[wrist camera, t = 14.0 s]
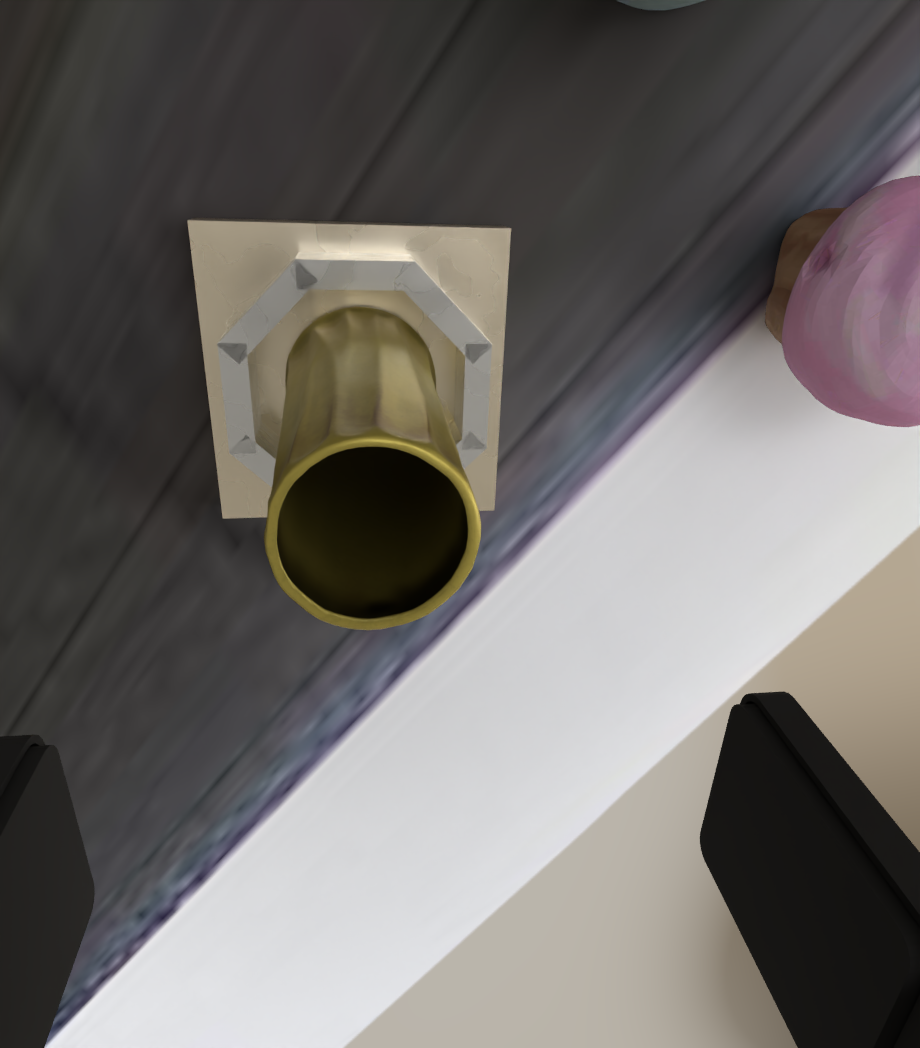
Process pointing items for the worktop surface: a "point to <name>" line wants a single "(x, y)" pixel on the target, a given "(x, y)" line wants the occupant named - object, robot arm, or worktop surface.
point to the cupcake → (854, 304)
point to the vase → (367, 477)
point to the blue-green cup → (659, 4)
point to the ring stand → (331, 284)
